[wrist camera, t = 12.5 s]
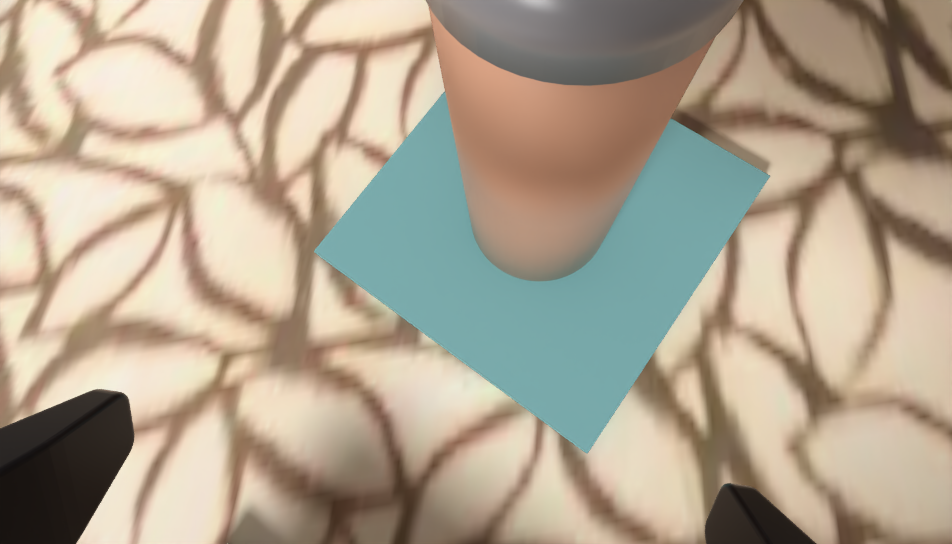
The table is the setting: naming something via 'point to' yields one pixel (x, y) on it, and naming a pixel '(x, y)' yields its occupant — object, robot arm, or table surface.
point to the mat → (544, 302)
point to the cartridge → (562, 113)
